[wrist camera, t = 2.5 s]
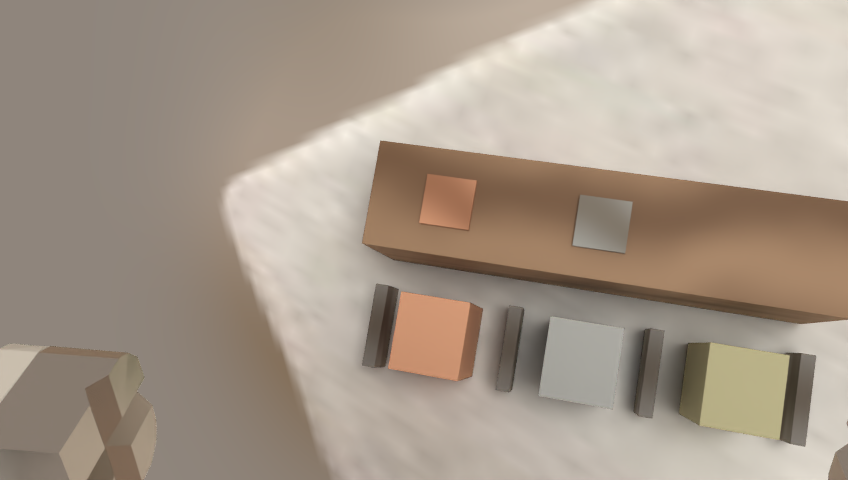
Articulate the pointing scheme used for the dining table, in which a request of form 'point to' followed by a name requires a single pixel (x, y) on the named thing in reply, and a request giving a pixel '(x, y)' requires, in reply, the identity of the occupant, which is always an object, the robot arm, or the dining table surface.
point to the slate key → (581, 362)
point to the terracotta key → (435, 337)
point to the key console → (611, 247)
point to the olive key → (734, 389)
